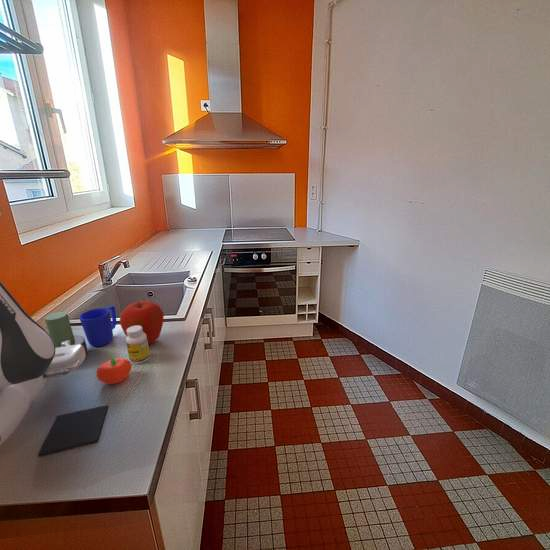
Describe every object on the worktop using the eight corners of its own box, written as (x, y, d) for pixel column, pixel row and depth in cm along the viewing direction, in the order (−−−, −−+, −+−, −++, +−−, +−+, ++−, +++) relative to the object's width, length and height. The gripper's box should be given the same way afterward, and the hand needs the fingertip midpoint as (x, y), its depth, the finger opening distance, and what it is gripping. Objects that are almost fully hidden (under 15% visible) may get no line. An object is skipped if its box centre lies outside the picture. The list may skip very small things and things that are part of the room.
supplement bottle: (125, 362, 85) (118, 331, 82) (140, 352, 90) (134, 322, 86) (140, 366, 83) (134, 334, 80) (154, 355, 88) (149, 325, 84)
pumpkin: (102, 374, 80) (97, 353, 78) (134, 368, 82) (130, 348, 80) (95, 392, 73) (89, 370, 71) (130, 385, 75) (125, 363, 73)
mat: (38, 456, 57) (37, 454, 57) (57, 417, 66) (56, 415, 66) (97, 442, 59) (97, 439, 59) (108, 406, 69) (107, 404, 68)
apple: (128, 358, 87) (119, 314, 82) (122, 340, 96) (113, 299, 92) (171, 344, 93) (165, 302, 88) (162, 329, 103) (155, 290, 98)
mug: (129, 330, 102) (123, 303, 99) (104, 350, 91) (96, 320, 88) (107, 328, 104) (101, 302, 101) (80, 348, 93) (72, 318, 89)
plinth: (41, 373, 81) (36, 357, 80) (55, 353, 90) (50, 338, 89) (83, 365, 84) (79, 350, 82) (92, 347, 93) (88, 332, 91)
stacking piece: (50, 350, 82) (41, 321, 80) (57, 341, 87) (48, 313, 84) (71, 347, 84) (63, 318, 81) (77, 338, 89) (69, 310, 86)
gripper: (72, 358, 64) (89, 328, 77) (-48, 378, 59) (-8, 342, 71) (79, 382, 66) (94, 349, 79) (-36, 405, 61) (0, 365, 73)
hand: (45, 346), depth 75 cm, fingers open, 8 cm apart
